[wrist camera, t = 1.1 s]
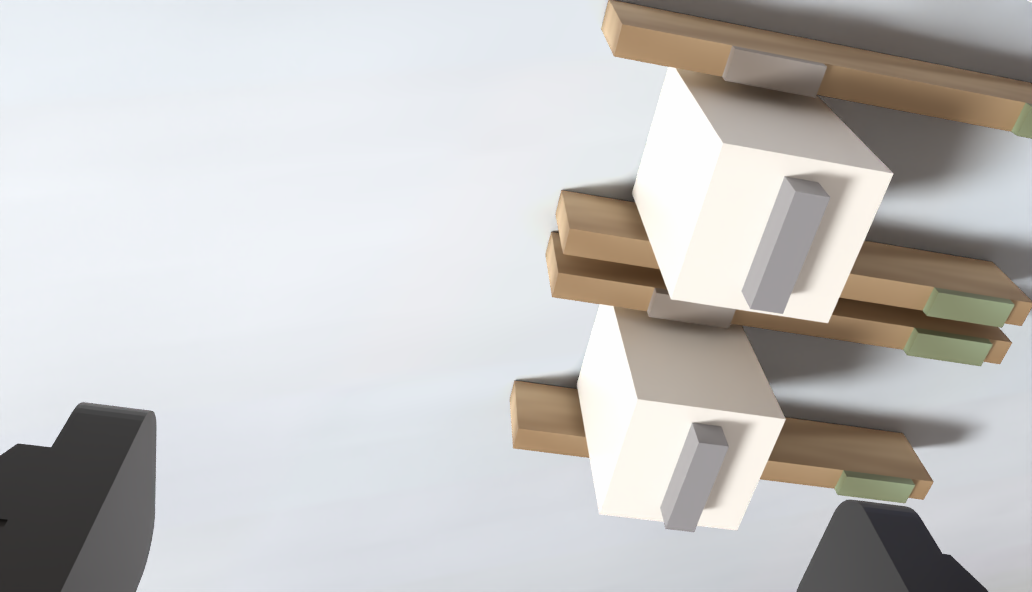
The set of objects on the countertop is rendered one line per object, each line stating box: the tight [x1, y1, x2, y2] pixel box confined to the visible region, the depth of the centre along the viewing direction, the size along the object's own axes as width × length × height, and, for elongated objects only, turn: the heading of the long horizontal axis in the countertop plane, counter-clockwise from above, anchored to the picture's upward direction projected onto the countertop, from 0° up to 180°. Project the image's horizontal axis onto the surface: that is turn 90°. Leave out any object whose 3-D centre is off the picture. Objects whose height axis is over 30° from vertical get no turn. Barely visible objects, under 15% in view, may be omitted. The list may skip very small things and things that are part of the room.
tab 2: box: [577, 304, 786, 532], centre depth 27 cm, size 4×4×7 cm
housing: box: [510, 232, 1012, 503], centre depth 30 cm, size 6×14×3 cm, turn 79°
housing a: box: [556, 0, 1032, 328], centre depth 26 cm, size 6×14×3 cm, turn 79°
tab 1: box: [632, 67, 894, 323], centre depth 24 cm, size 4×4×7 cm
